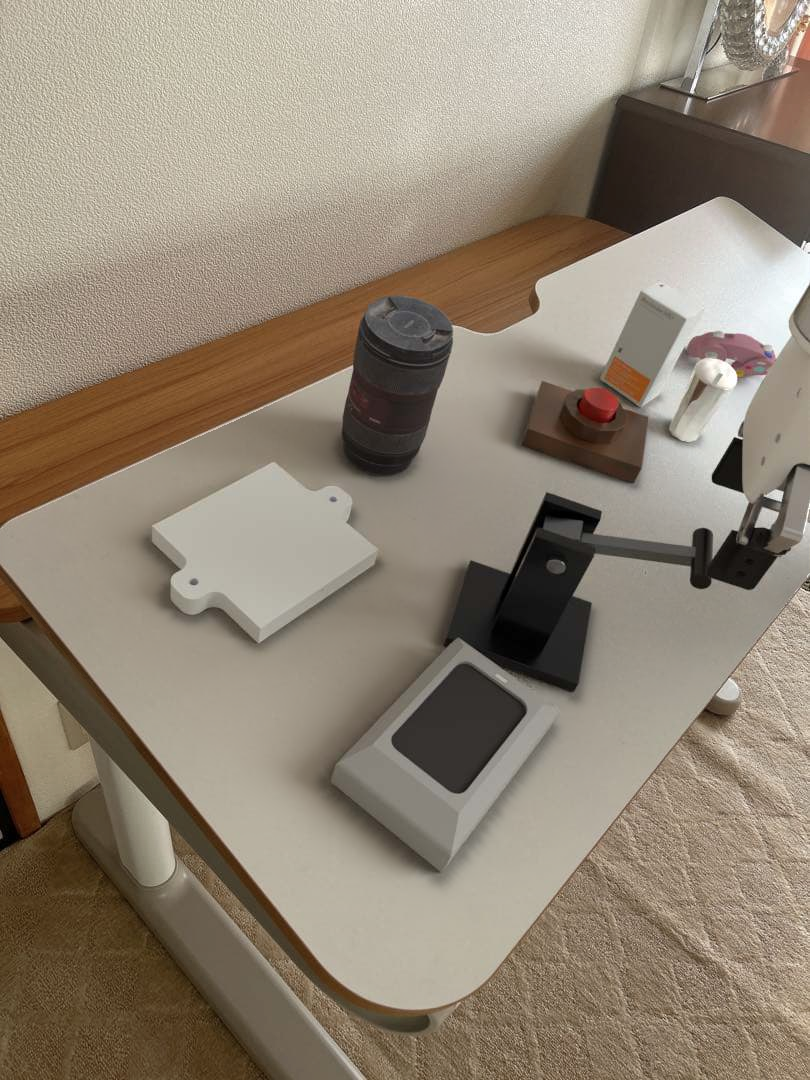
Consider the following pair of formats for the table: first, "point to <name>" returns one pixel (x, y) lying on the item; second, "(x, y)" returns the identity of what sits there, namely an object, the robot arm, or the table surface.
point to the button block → (586, 433)
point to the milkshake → (702, 398)
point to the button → (598, 404)
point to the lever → (645, 548)
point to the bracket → (532, 601)
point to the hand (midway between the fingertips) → (729, 531)
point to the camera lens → (394, 382)
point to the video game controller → (734, 352)
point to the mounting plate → (262, 550)
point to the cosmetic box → (651, 342)
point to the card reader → (445, 751)
